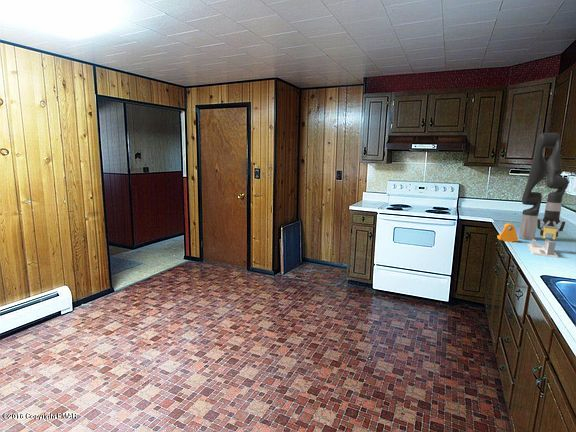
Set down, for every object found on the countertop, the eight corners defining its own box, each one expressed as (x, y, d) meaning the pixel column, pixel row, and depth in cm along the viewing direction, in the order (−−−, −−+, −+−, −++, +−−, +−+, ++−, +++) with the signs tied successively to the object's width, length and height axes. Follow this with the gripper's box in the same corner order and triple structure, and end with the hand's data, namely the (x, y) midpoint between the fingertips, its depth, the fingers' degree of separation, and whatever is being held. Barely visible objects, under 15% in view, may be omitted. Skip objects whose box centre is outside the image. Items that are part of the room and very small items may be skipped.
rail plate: (527, 245, 227) (529, 232, 225) (549, 247, 222) (551, 235, 220) (532, 254, 206) (534, 240, 205) (557, 257, 201) (560, 243, 199)
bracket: (514, 240, 240) (516, 223, 238) (517, 242, 234) (520, 225, 231) (496, 238, 244) (498, 221, 241) (499, 241, 237) (501, 223, 235)
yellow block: (541, 236, 216) (543, 226, 215) (553, 237, 213) (555, 227, 212) (543, 238, 212) (544, 228, 210) (555, 239, 209) (556, 229, 208)
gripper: (566, 210, 209) (561, 237, 212) (537, 207, 216) (533, 234, 219) (569, 211, 203) (564, 239, 206) (539, 209, 209) (535, 236, 212)
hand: (548, 236), depth 212 cm, fingers closed on yellow block, 6 cm apart
